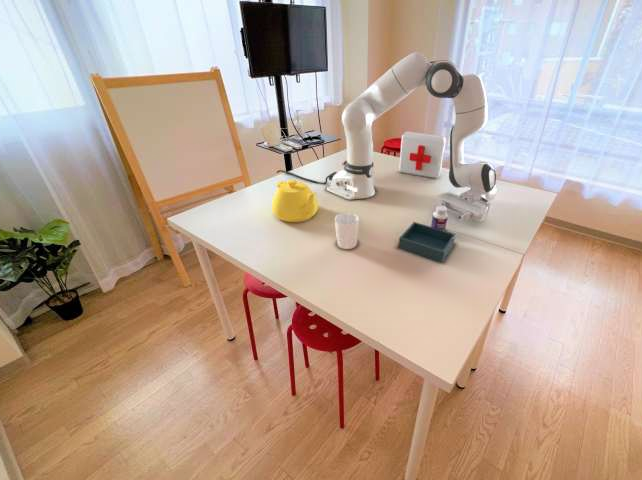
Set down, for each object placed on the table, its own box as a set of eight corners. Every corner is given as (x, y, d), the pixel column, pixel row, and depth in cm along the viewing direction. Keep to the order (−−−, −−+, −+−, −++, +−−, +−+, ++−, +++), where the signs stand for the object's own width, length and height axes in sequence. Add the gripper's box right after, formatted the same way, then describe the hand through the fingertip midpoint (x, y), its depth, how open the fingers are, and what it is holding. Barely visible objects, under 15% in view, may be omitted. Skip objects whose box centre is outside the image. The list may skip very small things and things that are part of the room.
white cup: (355, 251, 102) (355, 226, 96) (332, 248, 103) (331, 223, 98) (360, 239, 109) (361, 214, 103) (339, 236, 110) (338, 211, 104)
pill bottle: (436, 236, 111) (440, 212, 106) (427, 229, 115) (431, 206, 110) (447, 232, 113) (452, 209, 108) (438, 225, 117) (442, 203, 112)
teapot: (335, 218, 120) (333, 185, 112) (297, 234, 110) (293, 200, 102) (298, 197, 134) (294, 167, 126) (261, 210, 124) (255, 178, 116)
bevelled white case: (397, 173, 159) (400, 134, 148) (401, 168, 166) (405, 130, 154) (437, 180, 153) (443, 140, 142) (440, 175, 159) (447, 135, 148)
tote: (398, 247, 105) (399, 237, 102) (412, 231, 114) (413, 221, 111) (442, 262, 99) (444, 252, 96) (453, 243, 108) (455, 234, 105)
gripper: (449, 186, 127) (428, 195, 119) (494, 204, 115) (475, 215, 107) (446, 200, 131) (426, 210, 123) (490, 218, 119) (471, 230, 111)
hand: (449, 212), depth 115 cm, fingers open, 8 cm apart
